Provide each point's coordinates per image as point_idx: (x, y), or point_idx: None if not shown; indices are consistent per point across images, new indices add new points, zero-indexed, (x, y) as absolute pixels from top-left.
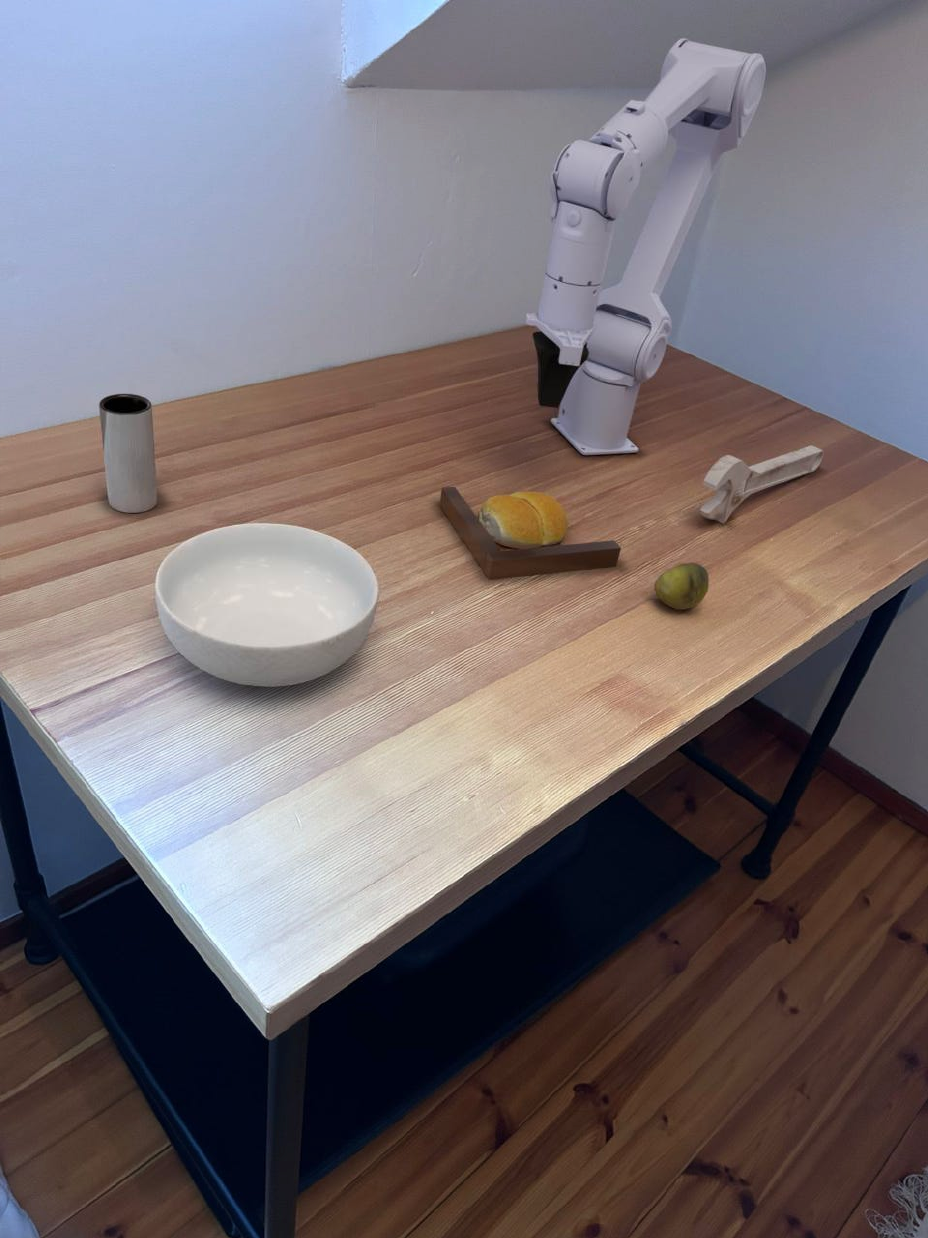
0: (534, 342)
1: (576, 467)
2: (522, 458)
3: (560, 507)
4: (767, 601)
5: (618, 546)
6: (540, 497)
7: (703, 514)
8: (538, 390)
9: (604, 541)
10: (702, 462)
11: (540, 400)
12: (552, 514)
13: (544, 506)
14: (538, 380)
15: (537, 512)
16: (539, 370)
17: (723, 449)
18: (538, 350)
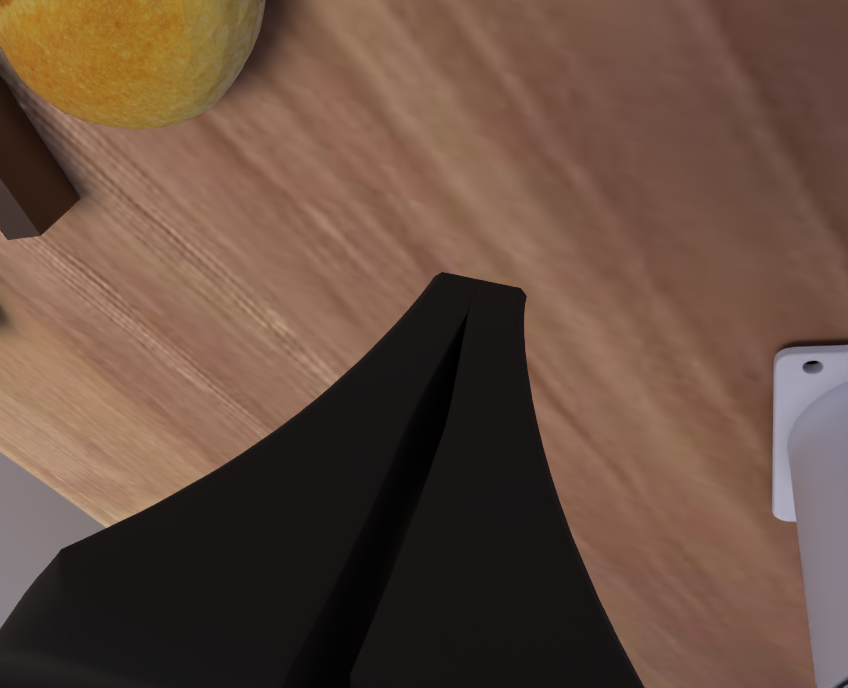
0: (205, 656)
1: (684, 294)
2: (801, 86)
3: (86, 114)
4: (75, 446)
5: (11, 235)
6: (74, 41)
7: None
8: (445, 325)
9: (16, 204)
10: (695, 609)
11: (420, 295)
12: (16, 65)
13: (23, 42)
14: (456, 374)
15: (6, 1)
16: (345, 435)
17: (770, 674)
18: (34, 591)
